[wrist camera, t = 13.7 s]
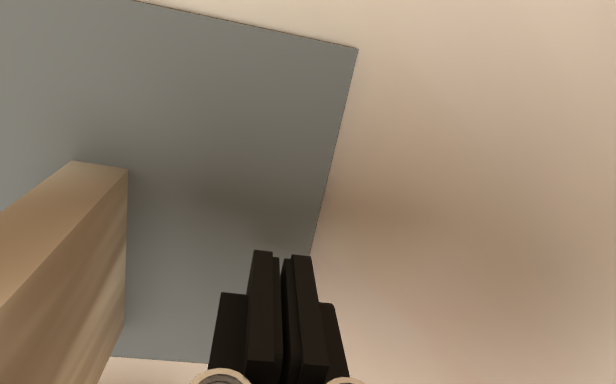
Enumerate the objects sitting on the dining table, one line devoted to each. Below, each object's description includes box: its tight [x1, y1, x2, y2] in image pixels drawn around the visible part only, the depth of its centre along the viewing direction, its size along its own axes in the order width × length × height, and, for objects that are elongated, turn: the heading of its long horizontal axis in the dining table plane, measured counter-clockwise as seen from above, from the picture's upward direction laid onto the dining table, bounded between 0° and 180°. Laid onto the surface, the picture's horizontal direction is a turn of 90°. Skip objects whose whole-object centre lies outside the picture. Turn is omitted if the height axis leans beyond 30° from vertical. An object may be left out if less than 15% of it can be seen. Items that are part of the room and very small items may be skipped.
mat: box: [0, 0, 359, 364], centre depth 14 cm, size 15×14×1 cm
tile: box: [0, 160, 128, 384], centre depth 11 cm, size 2×8×7 cm
